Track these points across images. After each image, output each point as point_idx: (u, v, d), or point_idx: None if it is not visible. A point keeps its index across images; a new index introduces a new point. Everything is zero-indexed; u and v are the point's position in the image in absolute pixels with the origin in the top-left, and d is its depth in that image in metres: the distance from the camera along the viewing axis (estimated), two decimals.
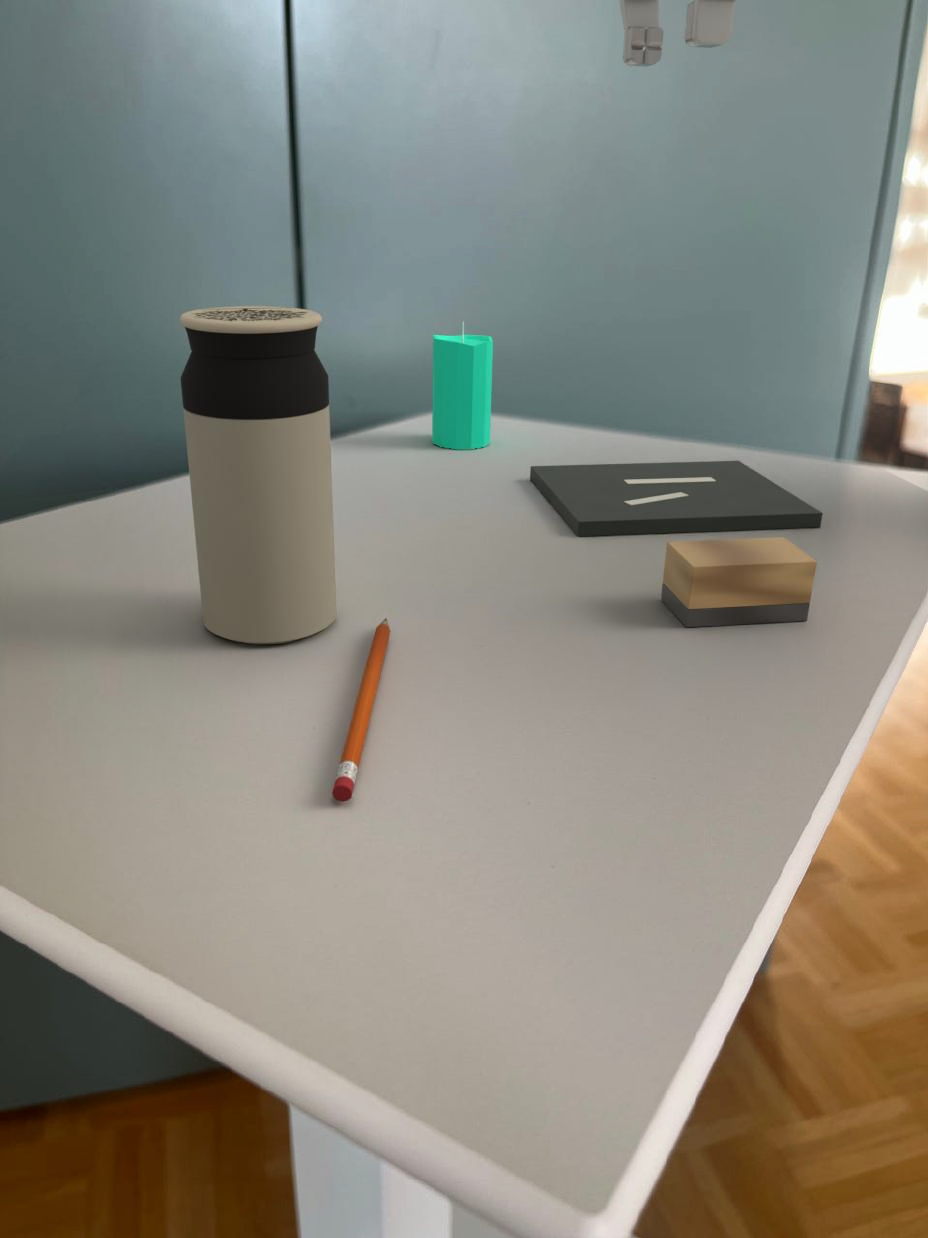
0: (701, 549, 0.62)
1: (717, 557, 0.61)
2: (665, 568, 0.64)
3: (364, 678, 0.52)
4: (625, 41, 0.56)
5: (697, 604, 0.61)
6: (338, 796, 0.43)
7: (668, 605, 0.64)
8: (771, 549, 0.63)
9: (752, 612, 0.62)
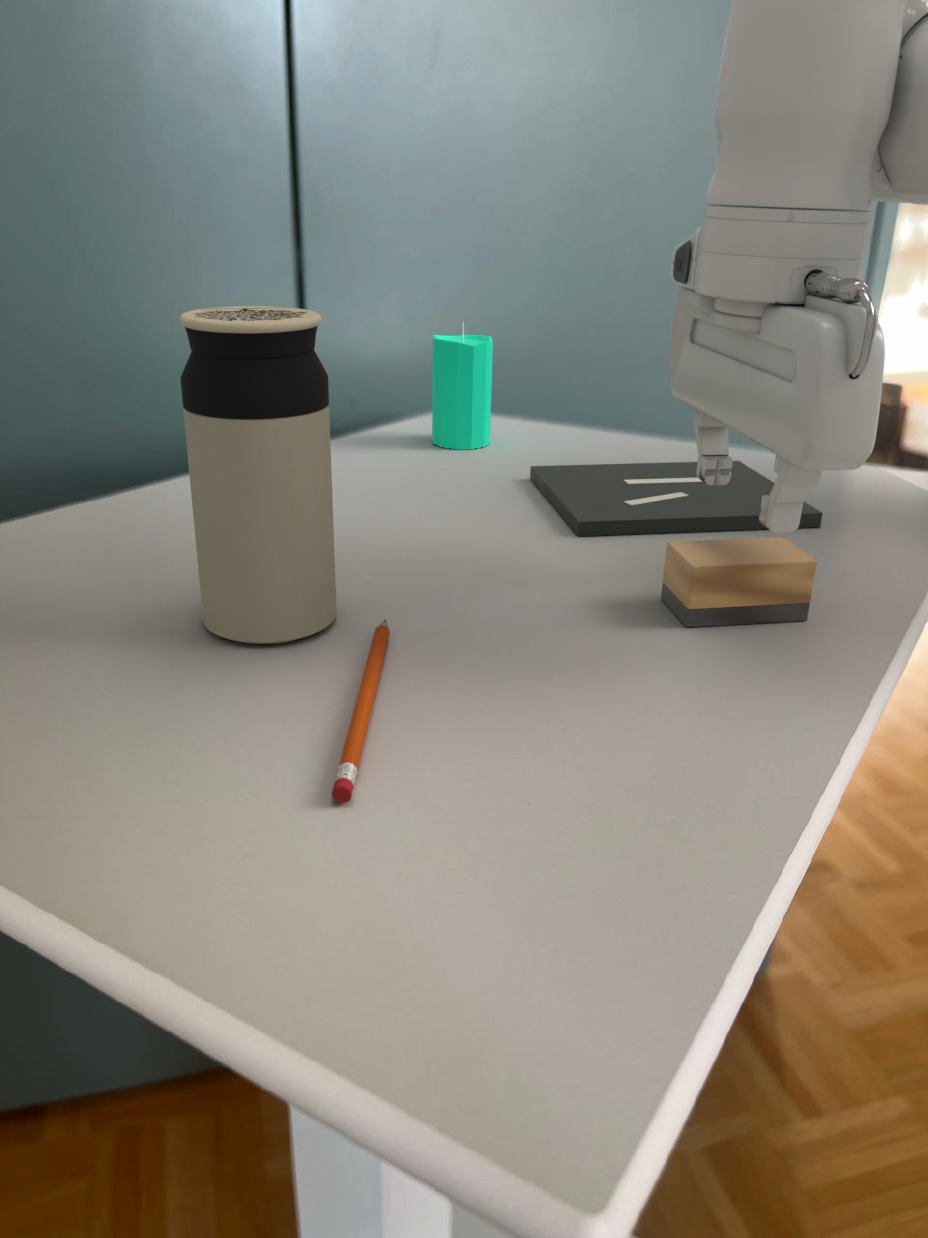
0: (701, 549, 0.62)
1: (717, 557, 0.61)
2: (665, 568, 0.64)
3: (363, 679, 0.52)
4: (698, 463, 0.65)
5: (697, 604, 0.61)
6: (338, 797, 0.43)
7: (668, 605, 0.64)
8: (771, 549, 0.63)
9: (752, 612, 0.62)
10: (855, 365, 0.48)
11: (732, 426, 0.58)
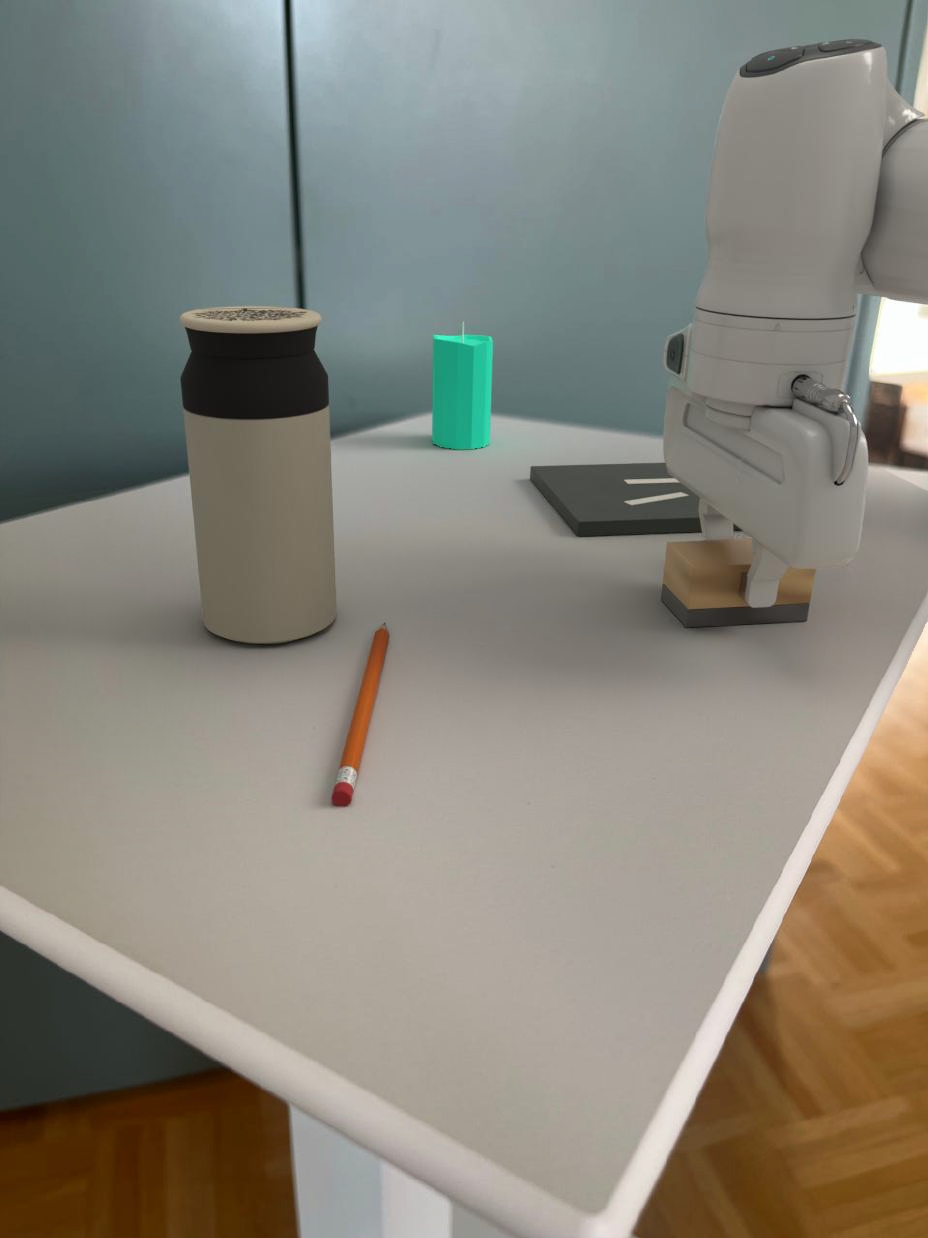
0: (701, 549, 0.62)
1: (717, 557, 0.61)
2: (665, 568, 0.64)
3: (363, 683, 0.52)
4: None
5: (697, 604, 0.61)
6: (338, 801, 0.43)
7: (668, 605, 0.64)
8: None
9: (752, 613, 0.62)
10: (840, 474, 0.50)
11: (724, 514, 0.60)
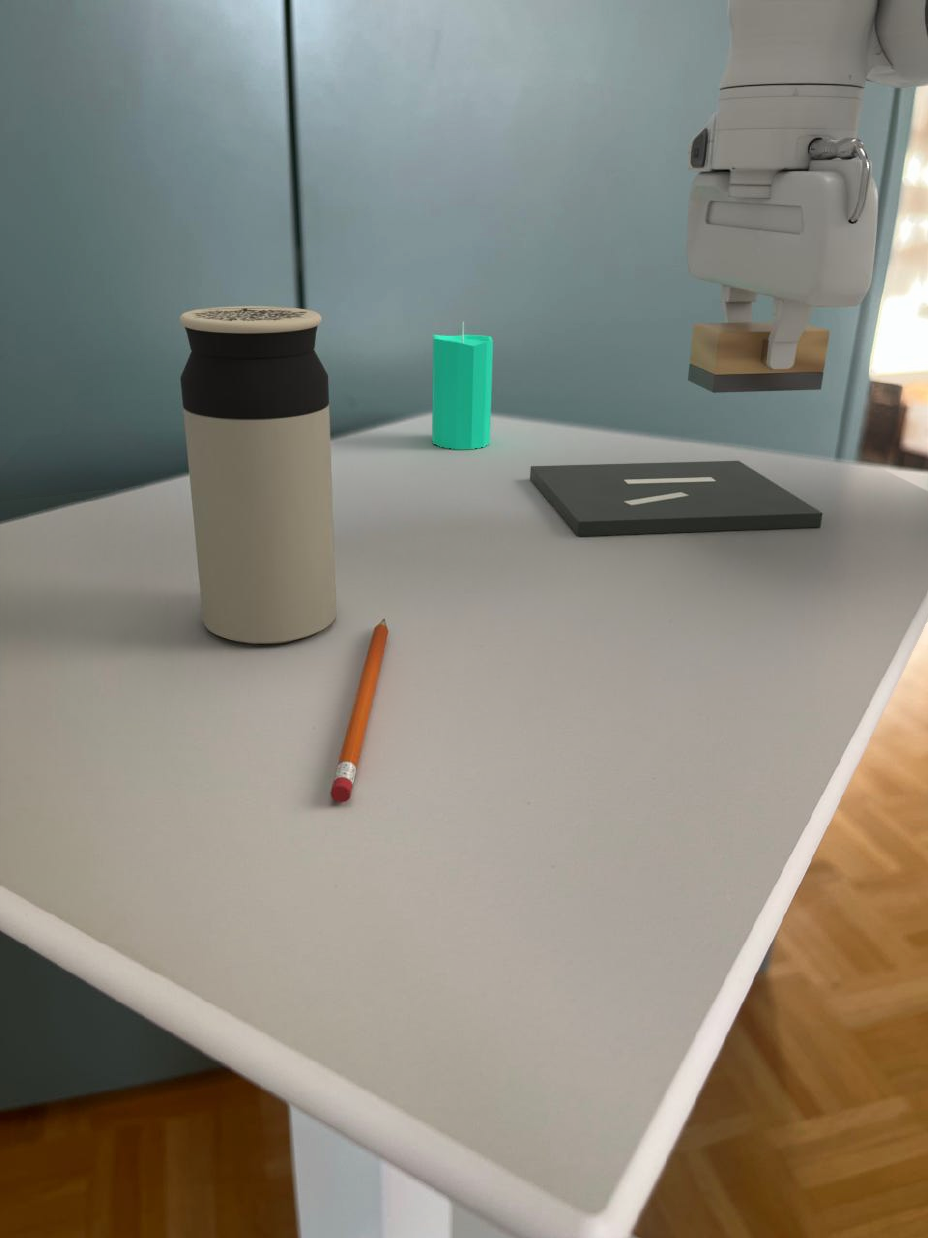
0: (725, 326, 0.69)
1: (740, 328, 0.68)
2: (691, 349, 0.71)
3: (362, 679, 0.52)
4: None
5: (723, 369, 0.67)
6: (337, 796, 0.43)
7: (695, 381, 0.71)
8: None
9: (772, 380, 0.68)
10: (853, 210, 0.57)
11: (747, 287, 0.67)
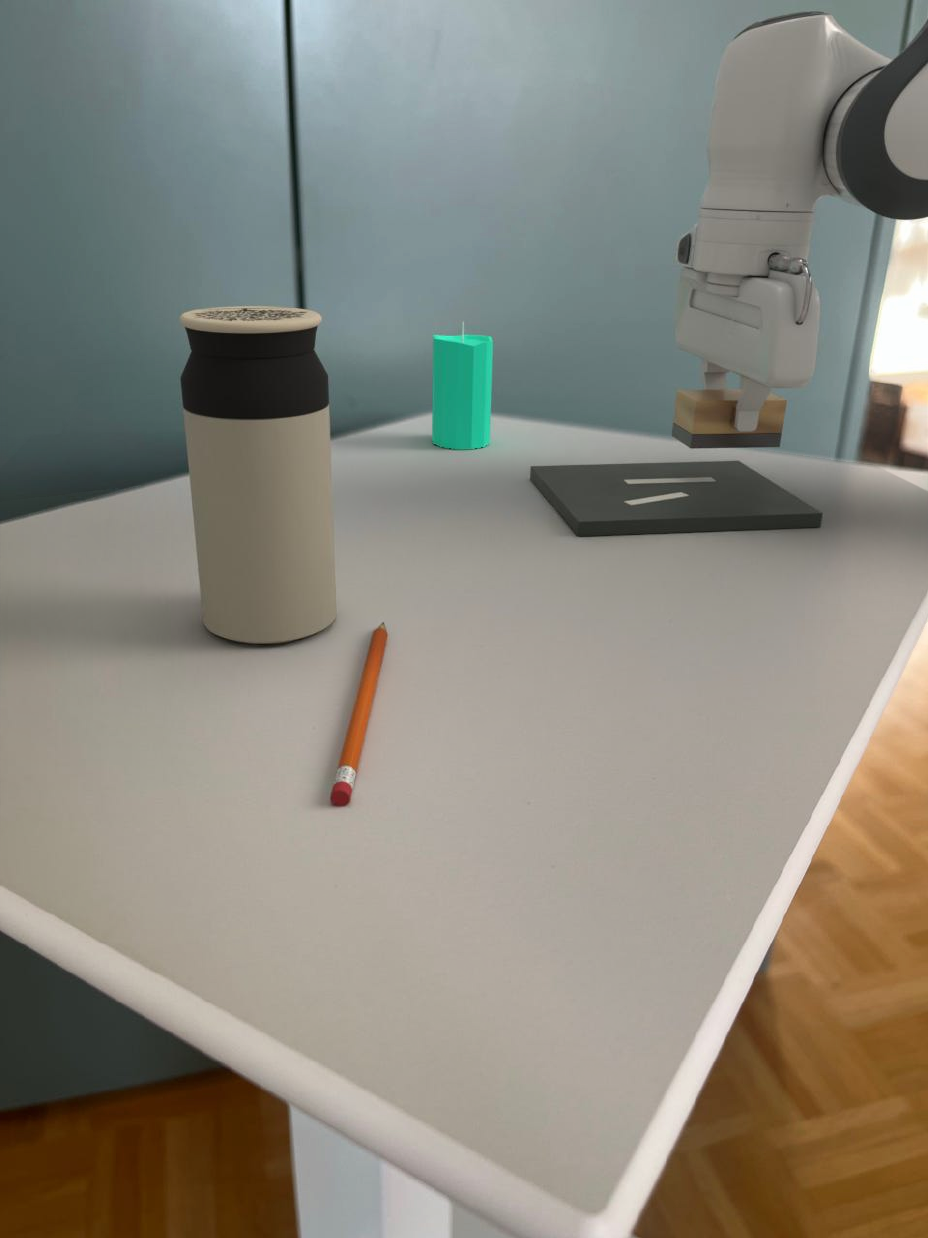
0: (702, 393, 0.85)
1: (714, 397, 0.83)
2: (675, 410, 0.86)
3: (362, 682, 0.52)
4: None
5: (699, 430, 0.83)
6: (336, 801, 0.43)
7: (677, 437, 0.86)
8: None
9: (739, 438, 0.84)
10: (799, 315, 0.72)
11: (720, 364, 0.82)
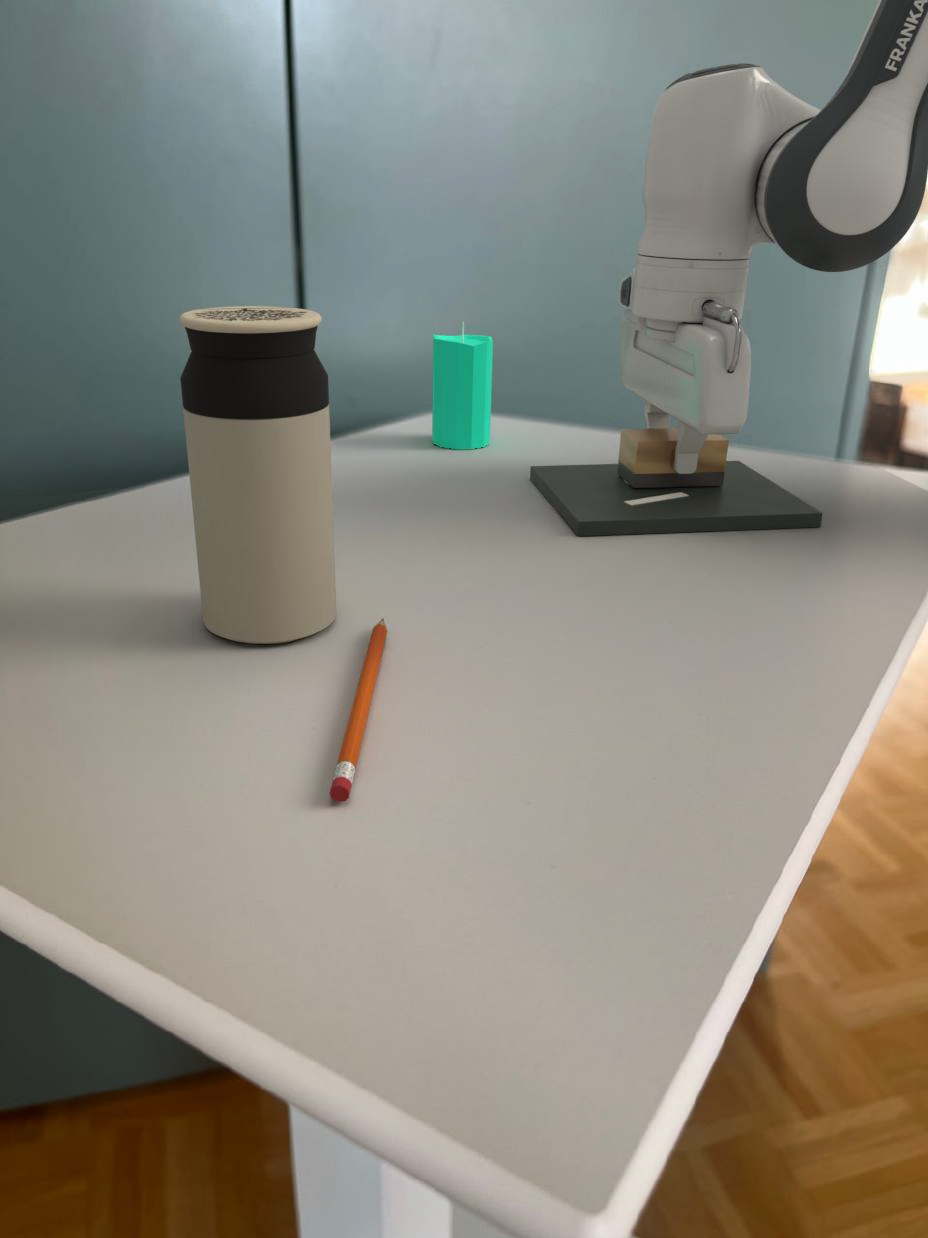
0: (645, 433, 0.85)
1: (656, 437, 0.84)
2: (620, 449, 0.87)
3: (361, 678, 0.52)
4: None
5: (641, 470, 0.84)
6: (336, 796, 0.43)
7: (622, 476, 0.87)
8: None
9: (682, 478, 0.84)
10: (730, 364, 0.73)
11: (659, 406, 0.83)
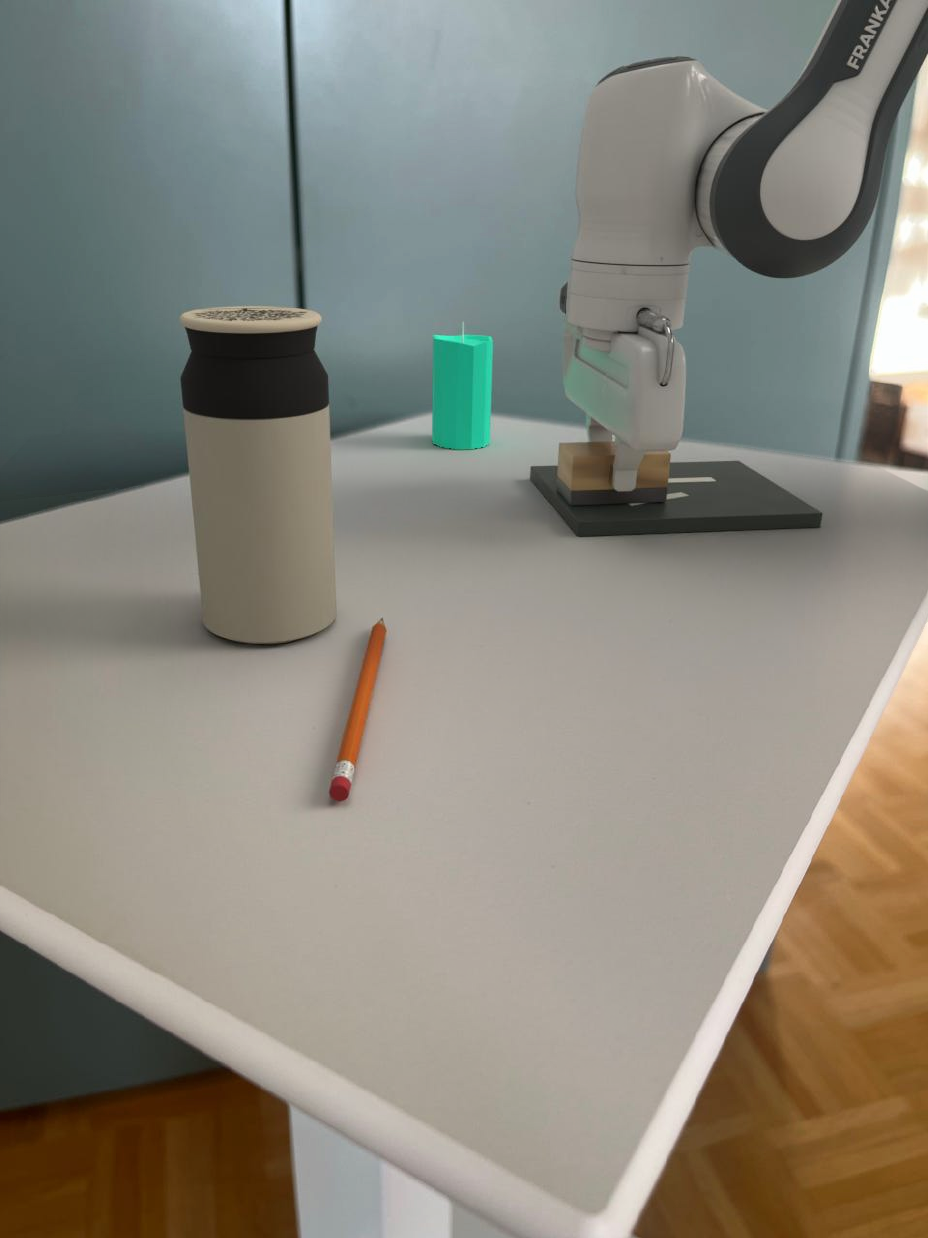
0: (583, 447, 0.81)
1: (594, 451, 0.79)
2: (558, 464, 0.82)
3: (360, 678, 0.52)
4: None
5: (578, 486, 0.79)
6: (335, 796, 0.43)
7: (560, 492, 0.82)
8: None
9: (622, 494, 0.80)
10: (662, 377, 0.68)
11: (597, 420, 0.79)
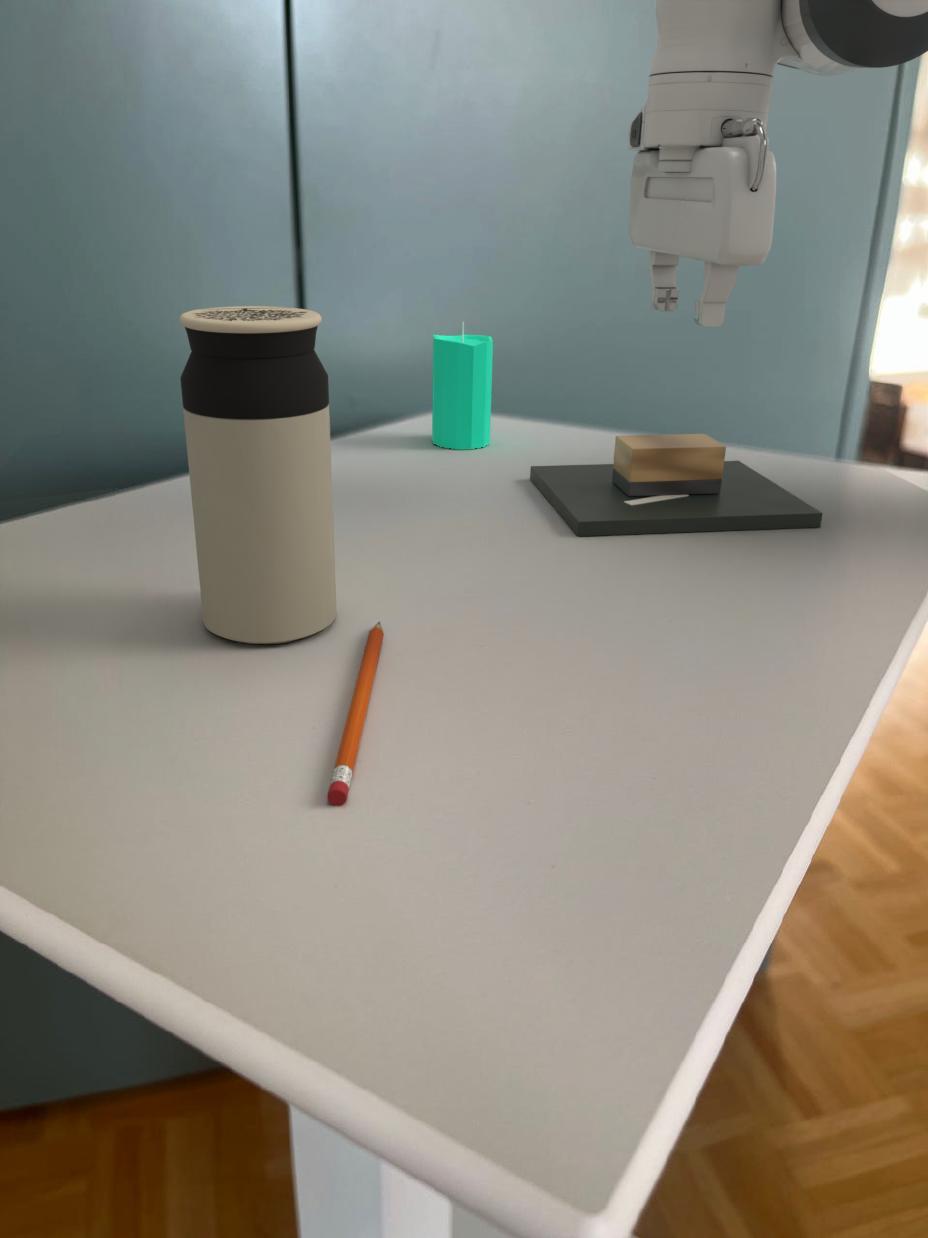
0: (640, 439, 0.83)
1: (651, 443, 0.82)
2: (614, 456, 0.85)
3: (358, 682, 0.52)
4: (652, 294, 0.83)
5: (636, 478, 0.81)
6: (333, 800, 0.43)
7: (617, 483, 0.85)
8: (693, 440, 0.83)
9: (678, 486, 0.82)
10: (753, 180, 0.66)
11: (674, 251, 0.76)
